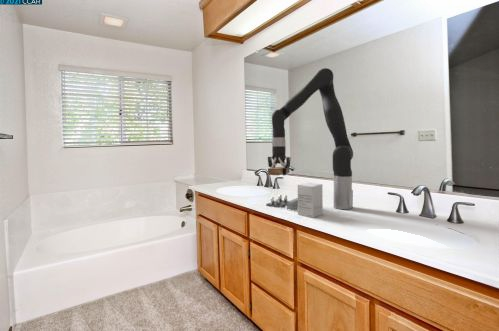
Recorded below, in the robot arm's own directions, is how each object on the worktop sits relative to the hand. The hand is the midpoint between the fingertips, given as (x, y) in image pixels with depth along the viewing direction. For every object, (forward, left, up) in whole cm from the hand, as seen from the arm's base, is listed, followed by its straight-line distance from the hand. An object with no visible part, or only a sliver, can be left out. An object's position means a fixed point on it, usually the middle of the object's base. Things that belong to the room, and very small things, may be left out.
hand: (279, 174), depth 157 cm
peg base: (0, 0, -17) cm, 17 cm away
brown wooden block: (0, 0, +1) cm, 1 cm away
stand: (-11, +2, -17) cm, 20 cm away
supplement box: (-24, +12, -17) cm, 32 cm away
